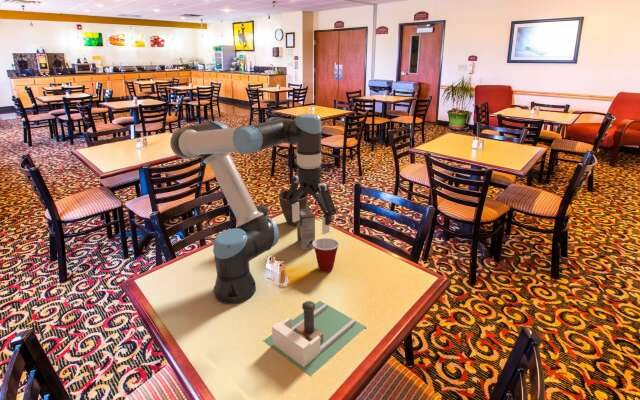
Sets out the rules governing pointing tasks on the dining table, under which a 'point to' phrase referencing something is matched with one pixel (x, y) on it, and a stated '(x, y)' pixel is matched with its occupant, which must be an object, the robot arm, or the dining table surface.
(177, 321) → the dining table surface
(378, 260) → the dining table surface
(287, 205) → the plant pot
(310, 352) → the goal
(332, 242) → the plastic cup
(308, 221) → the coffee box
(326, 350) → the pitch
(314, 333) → the rubber stamp
